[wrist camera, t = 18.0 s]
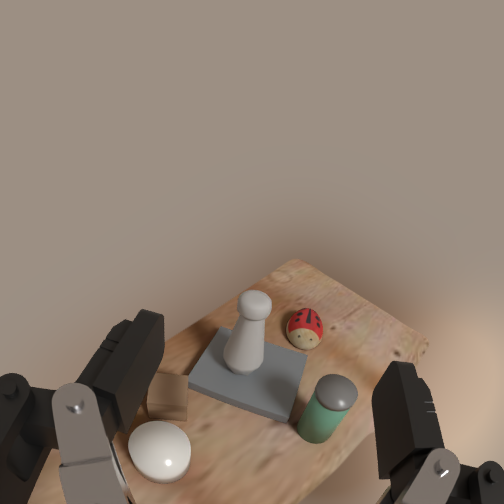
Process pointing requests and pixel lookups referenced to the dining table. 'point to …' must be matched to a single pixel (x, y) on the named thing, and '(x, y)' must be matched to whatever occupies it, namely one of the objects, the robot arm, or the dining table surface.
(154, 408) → the brown wooden block
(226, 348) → the salt shaker
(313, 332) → the ladybug figurine
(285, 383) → the cutting board
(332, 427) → the dark green jar
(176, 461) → the white dome
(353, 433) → the dining table surface
